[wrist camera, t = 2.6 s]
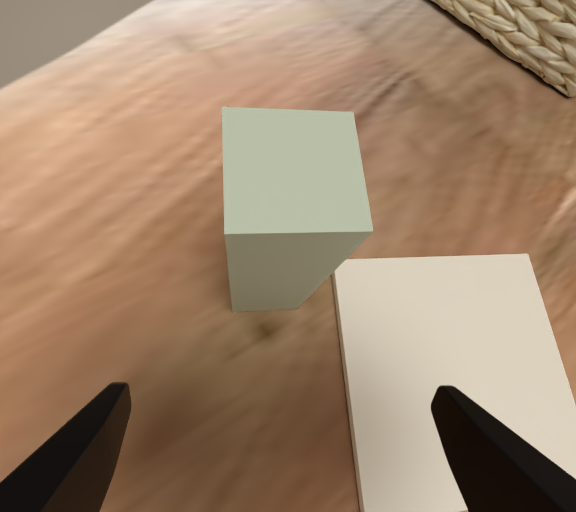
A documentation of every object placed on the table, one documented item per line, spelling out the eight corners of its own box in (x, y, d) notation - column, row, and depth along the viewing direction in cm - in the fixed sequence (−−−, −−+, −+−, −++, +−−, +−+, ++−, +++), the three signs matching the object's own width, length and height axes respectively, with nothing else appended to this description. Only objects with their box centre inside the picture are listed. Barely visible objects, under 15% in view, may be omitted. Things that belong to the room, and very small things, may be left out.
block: (232, 312, 23) (224, 233, 10) (230, 249, 24) (221, 106, 11) (297, 308, 23) (373, 231, 10) (292, 248, 25) (353, 111, 12)
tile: (361, 520, 20) (366, 526, 19) (330, 263, 25) (333, 259, 24) (589, 484, 22) (601, 488, 22) (519, 256, 27) (527, 253, 27)
